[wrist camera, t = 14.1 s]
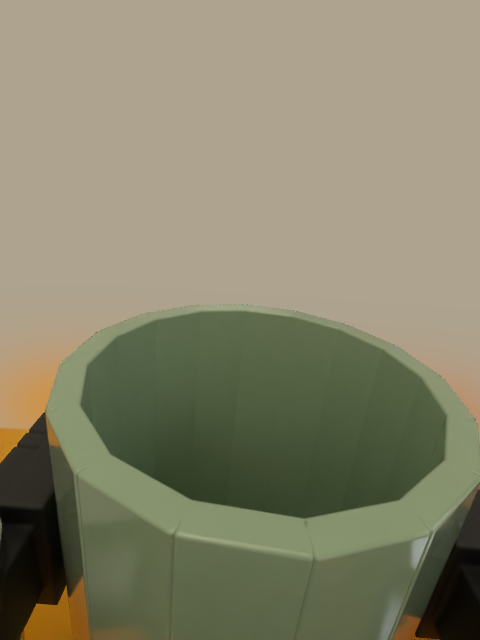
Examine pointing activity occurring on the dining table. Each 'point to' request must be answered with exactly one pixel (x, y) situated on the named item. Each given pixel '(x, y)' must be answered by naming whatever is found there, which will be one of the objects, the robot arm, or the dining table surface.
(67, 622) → the dining table surface
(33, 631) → the dining table surface
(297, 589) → the cup
